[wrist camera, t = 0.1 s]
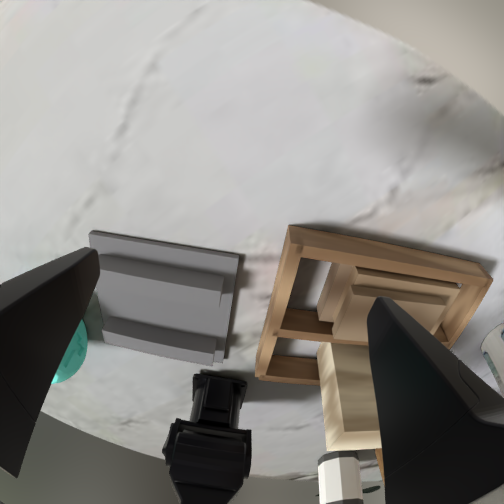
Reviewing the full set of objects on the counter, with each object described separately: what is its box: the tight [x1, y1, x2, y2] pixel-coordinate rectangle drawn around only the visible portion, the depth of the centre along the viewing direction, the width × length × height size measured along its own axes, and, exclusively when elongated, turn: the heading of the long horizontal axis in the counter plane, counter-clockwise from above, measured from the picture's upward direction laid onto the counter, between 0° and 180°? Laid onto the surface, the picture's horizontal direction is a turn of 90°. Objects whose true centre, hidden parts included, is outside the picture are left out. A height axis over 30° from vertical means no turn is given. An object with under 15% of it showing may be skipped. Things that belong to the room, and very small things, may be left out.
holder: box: [89, 231, 239, 366], centre depth 28 cm, size 14×14×3 cm
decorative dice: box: [51, 320, 87, 384], centre depth 29 cm, size 8×8×8 cm
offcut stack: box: [317, 262, 460, 342], centre depth 25 cm, size 7×12×5 cm, turn 81°
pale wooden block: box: [317, 342, 382, 451], centre depth 26 cm, size 4×8×12 cm, turn 81°
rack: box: [255, 225, 493, 386], centre depth 28 cm, size 16×21×3 cm
